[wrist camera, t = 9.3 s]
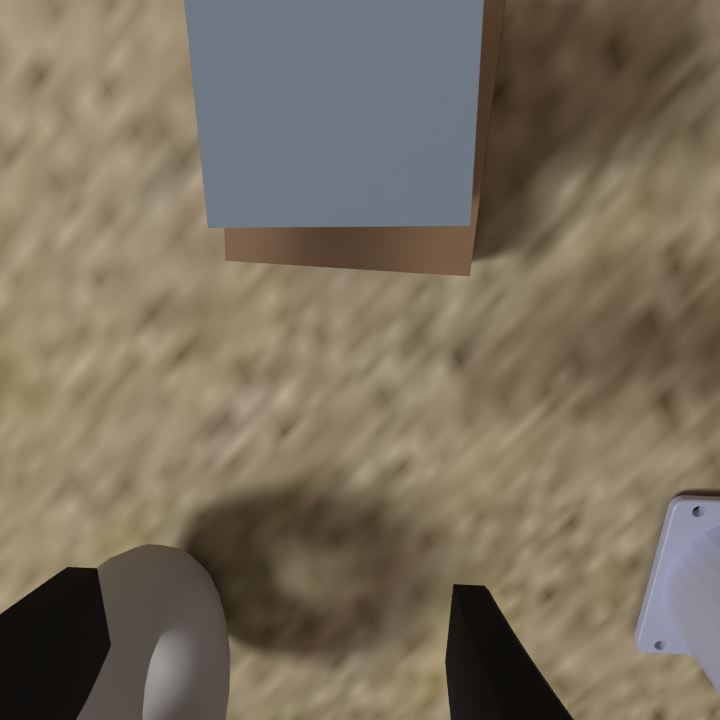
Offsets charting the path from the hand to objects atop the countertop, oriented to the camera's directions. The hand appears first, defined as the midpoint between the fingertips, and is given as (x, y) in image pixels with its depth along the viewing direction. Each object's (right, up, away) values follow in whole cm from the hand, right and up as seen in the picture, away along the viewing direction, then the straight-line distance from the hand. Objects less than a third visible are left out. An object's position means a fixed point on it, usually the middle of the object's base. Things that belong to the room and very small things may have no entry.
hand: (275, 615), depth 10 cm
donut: (-6, -5, +13) cm, 15 cm away
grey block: (+1, +12, +4) cm, 12 cm away
